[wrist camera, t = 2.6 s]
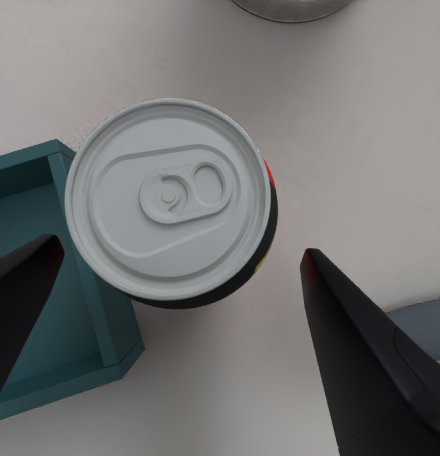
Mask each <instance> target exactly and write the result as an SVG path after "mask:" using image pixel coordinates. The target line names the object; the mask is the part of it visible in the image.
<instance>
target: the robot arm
mask: <svg viewBox="0 0 440 456" xmlns="http://www.w3.org/2000/svg"><path fill="white" fill-rule="evenodd" d="M64 257H65V250H64V248H63V246H62V244H61V242H60V240H59V237H58V236H57V235H55V234H42V235H40V236H39V237H37V238H35V239H33V240H31V241H30V242H28V243H26V244H24V245H22V246H20V247H19V248H17V249H15V250H13V251H11V252H9V253H8V254H6V255H4V256H2V257H0V392H1V391H2V389H3V387H4V385H5V383H6V381H7V379H8V377H9V375H10V373H11V371H12V369H13V367H14V365H15V363H16V361H17V359H18V357H19V355H20V353H21V351H22V349H23V347H24V345H25V343H26V341H27V339H28V337H29V335H30V333H31V331H32V329H33V328H34V326H35V324H36V322H37V320H38V318H39V316H40V314H41V312H42V310H43V308H44V306H45V304H46V302H47V300H48V298H49V296H50V294H51V291H52V289H53V286H54V284H55V281H56V278H57V276H58V273H59V270H60V268H61V265H62V262H63V260H64ZM300 272H301V281H302V290H303V298H304V306H305V311H306V316H307V320H308V324H309V328H310V332H311V337H312V341H313V345H314V349H315V353H316V357H317V362H318V366H319V370H320V374H321V378H322V383H323V387H324V391H325V395H326V399H327V403H328V408H329V412H330V416H331V420H332V424H333V429H334V433H335V437H336V441H337V445H338V447H339V448H338V450H339V454H340V456H440V364H439V363H438V362H437V361H435V360H434V359H433V358H432V357H431V356H430V355H429V354H427V353H426V352H425V351H424V350H423V349H422V348H421V347H420V346H419V345H417V344H416V343H415V342H414V341H413V340H412V339H411V338H410V337H409V336H408V335H407V334H406V333H405V332H404V331H403V330H402V329H401V328H400V327H399V326H397V325H395V323H394V322H393V321H392V320H391V319H390V318H389V317H388V316H387V315H386V314H385V313H384V312H383V311H382V310H381V309H380V308H379V307H378V306H377V305H376V304H375V303H374V302H373V301H372V300H371V299H370V298H369V297H368V296H367V295H365V294H364V293H363V292H362V291H361V290H360V289H359V288H358V287H357V286H356V285H355V284H354V283H353V282H352V281H351V280H350V279H349V278H348V277H347V276H346V275H345V274H344V273H343V272H342V271H341V270H340V269H339V268H338V267H337V266H336V265H335V264H334V263H333V262H331V261H330V260H329V259H328V258H327V257H326V256H325V255H324V254H323V253H322V252H321V251H320V250H319V249H315V248H307V249H306V250H305V253H304V255H303V258H302V261H301V264H300Z"/></svg>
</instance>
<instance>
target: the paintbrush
mask: <svg viewBox="0 0 440 456" xmlns="http://www.w3.org/2000/svg"><path fill="white" fill-rule="evenodd" d="M385 314H386V315H387V316H388V317H389V318H390V319H391V320H392V321H393V322H394V323H395V325H397V326H399V327H400V328H401V329H402V330H403V331H404V332H405V333H406V334H407V335H408V336H409V337H410V338H411V339H412V340H413V341H414V342H415V343H416V344H417V345H419V346H420V347H421V348H422V349H423V350H424V351H425V352H426V353H427V354H429V355H430V356H431V357H432V358H433V359H434V360H440V299H438V300H433V301H428V302H424V303H420V304H416V305H411V306H407V307H404V308H401V309H397V310H394V311H391V312H388V313H385Z"/></svg>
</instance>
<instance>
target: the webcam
mask: <svg viewBox="0 0 440 456" xmlns="http://www.w3.org/2000/svg"><path fill="white" fill-rule="evenodd" d="M233 1H234V2H235V3H237V4H238V5H240V6H241V7H243V8H244V9H246V10H248V11H249V12H251V13H254V14H256V15H258V16H261V17H264V18H267V19H271V20H275V21H281V22H302V21H310V20H314V19H318V18H321V17H324V16H327V15H329V14H331V13H332V12H334V11H336V10H338V9H340V8H341V7H343V6H344V5H345V4H347V3H348V2H349V1H350V0H233Z"/></svg>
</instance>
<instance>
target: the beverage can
mask: <svg viewBox="0 0 440 456" xmlns="http://www.w3.org/2000/svg"><path fill="white" fill-rule="evenodd" d="M65 215H66V220H67V225H68V228H69V232H70V235H71V237H72V240H73V242H74V244H75V246H76V248H77V250H78V252H79V253H80V255H81V256H82V258H83V259H84V261H85V262H86V263H87V264H88V265H89V267H90V268H91V269H92V270H93V271H94V272H95V273H96V274H97V275H98V276H100V277H101V278H102V279H103V280H105V281H106V282H108V283H109V284H110V285H112V286H113V287H114V288H115V289H117V290H118V291H119V292H121V293H123V294H124V295H126V296H128V297H129V298H131V299H133V300H136V301H138V302H141V303H143V304H146V305H150V306H154V307H158V308H164V309H191V308H197V307H201V306H205V305H208V304H211V303H214V302H217V301H219V300H221V299H223V298H225V297H227V296H228V295H230V294H232V293H233V292H235V291H236V290H238V289H239V288H240V287H241V286H243V285H244V284H245V283H246V282H247V281H248V280H249V279H250V278H251V277H252V276H253V275H254V274H255V272H256V271H257V270H258V268H259V267H260V266H261V264H262V263H263V261H264V259H265V258H266V256H267V254H268V252H269V250H270V247H271V245H272V242H273V239H274V235H275V231H276V226H277V218H278V203H277V195H276V189H275V185H274V181H273V178H272V175H271V172H270V170H269V168H268V166H267V164H266V162H265V160H264V159H263V157H262V155H261V154H260V152H259V150H258V148H257V147H256V145H255V143H254V142H253V140H252V139H251V138H250V136H249V135H248V134H247V133H246V132H245V131H244V130H243V128H242V127H241V126H239V125H238V124H237V123H236V122H235V121H234V120H233V119H231V118H230V117H228V116H227V115H226V114H224V113H222V112H221V111H219V110H217V109H215V108H213V107H211V106H208V105H206V104H203V103H200V102H196V101H192V100H187V99H181V98H159V99H151V100H146V101H142V102H139V103H136V104H133V105H130V106H128V107H125V108H123V109H121V110H120V111H118V112H116V113H114V114H113V115H111V116H110V117H108V118H107V119H105V120H104V121H103V122H102V123H100V124H99V125H98V126H97V127H96V128H95V129H94V130H93V131H92V132H91V133H90V135H89V136H88V137H87V138H86V139H85V141H84V142H83V144H82V145H81V146H80V148H79V150H78V152H77V153H76V155H75V157H74V160H73V162H72V164H71V167H70V170H69V173H68V177H67V182H66V188H65Z"/></svg>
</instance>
